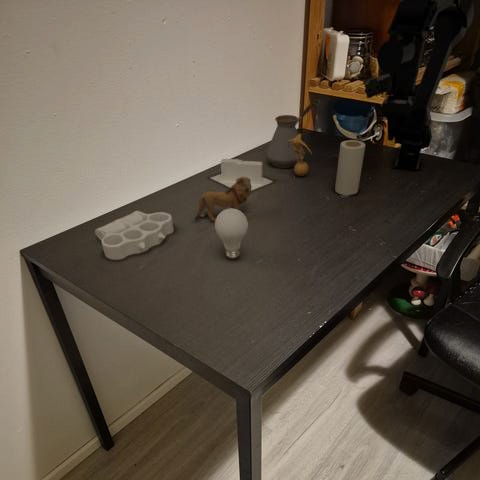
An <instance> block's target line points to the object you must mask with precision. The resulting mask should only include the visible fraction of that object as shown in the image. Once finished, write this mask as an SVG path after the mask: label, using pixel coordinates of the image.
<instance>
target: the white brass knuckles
mask: <svg viewBox="0 0 480 480" xmlns="http://www.w3.org/2000/svg"><path fill="white" fill-rule="evenodd" d="M174 230H175V228H174V222H173V216H172V214H170V213H168V212H164V211H161V212H160V211H159V212H158V211H157V212H153V213H145V212H143V211H140V210H135V211H133V212H132V213H129V214H127V215H125V216H123V217H120V218H117V219H116V220H113V221H111V222H109V223H107V224H106V225H103V226H101V227H97V228H95V230H94V233H95V236H96V237H97V238H98V240H100V243H101V245H102V249H103V253H104V256H105V257H106V258H107V259H109V260H113V261H121V260H125V258H127V257H130V256H132V255H138V254H143V253H146V252H148V250H149V249H151V248H153V247H155V246H159V245H160V244H161V243H162V242H164V240H165V239H166V238H167V236H169V235H171V234H173V233H174V232H175V231H174Z"/></svg>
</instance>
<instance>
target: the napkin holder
mask: <svg viewBox="0 0 480 480" xmlns="http://www.w3.org/2000/svg"><path fill="white" fill-rule="evenodd" d="M263 164H264V163H263V161H252V160H242V159H238V158H237V159H236V158H222V160H221V161H220V168H221V170H220V171H221V173H219V174H216V175H214V176H211V177H210V180H214V181H215V182H218V183H219V184H222V185H224V186H226V187H228V188H229V189H230V188H231V187H232V185H234V184H235V183H236V179H238V178H240V177H243V176H244V177H247V178H248V179H250V183H251V186H252V187H251V191H250V192H252V191H254V190H257V189H260V188H263V187H264V186H266V185H267V186H268V185H269V184H272V183H274V181H273V180H271V179H269V178H266V177H263Z"/></svg>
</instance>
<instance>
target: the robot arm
mask: <svg viewBox="0 0 480 480" xmlns="http://www.w3.org/2000/svg"><path fill="white" fill-rule="evenodd" d="M474 6H475V5H474V0H400V1H399V3H398V5H397V8H396V10H395V12H394V16H393V17H392V20H391V22H390V25H389V27H388V30H387V34H388V35H389V36H388V40H386V41H384V42H383V43H382V44H381V46H380V47H379V49H378V51H377V54H376V61H377V64H378V67H379V68H380V69H381V70H382V71H384V72H387V73H386V74H383V75H379V76H375V77H374V78H369V80H366V82H365V83H364V93H365V95H366V99H371V98H373V97H375V96H378V95H381V94H384V93H385V96H386V97H385V98H384V99H383V101H382V104H381V109H380V113H381V115H382V116H384V117H385V119H386V121H387V122H386V123H387V140H388V141H391V142H393V140H394V144H397V145H400V148H399V151H398V156H397V158H396V159H395V163H394V167H393V168H394V169H400V170H410V171H418V170H419V166H420V156H421V153H422V150H424V149H429V148H430V145H431V142H432V139H433V136H432V135H433V134H432V128H431V124H432V120H433V119H432V115H431V107H432V105H433V101H434V99H435V96H436V93H437V91H438V89H439V85H440V83H441V80H442V78H443V74H444V72H445V69H446V66H447V64H448V61H449V59H450V57H451V53H452V51H453V49H454V47H456V46H457V45H458V43H459V42H461V41H462V40H463V39H464V37H465V35H466V33H467V30H468V29H469V28H470V27H471V25H472V24H473V19H474V16H475V7H474ZM431 29H432V34H433V40H434V44H433V46H432V49H431V52H430V55H429V58H428V61H427V63H426V65H425V69H424V72H423V74H422V77H421V79H420V82H419V85H416V83H417V79H418V75H419V71H420V65H421V62H422V56H423V52H424V49H425V42H426V38H428V36H429V32H430V31H431ZM388 72H389V73H388ZM417 86H418V88H417Z"/></svg>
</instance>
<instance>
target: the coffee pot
mask: <svg viewBox="0 0 480 480" xmlns="http://www.w3.org/2000/svg"><path fill="white" fill-rule="evenodd" d="M317 101H318V103H319V104H317ZM320 103H321V101H320V100H319V99H318V98H315V99H313V100H312V101H311V102H310V104H309V105H308V106H306V108H305V109H304V110H303V111H302V113H301V114H300V115H299V116H298V117H297V116H295V115H292V114H282V115H278V116H276V117H275V119H274V120H275V122H276V125H277V126H276V129H275V131H274V132H273V136H272V138H271V141H270V142H269V145H268V147H267V150H266V152H265V157H266V158H267V160H268V162H269V163H271V165H272V166H274V167H276V168H279V169H290V168H294V167H295V165H296V164H297V163H298V161H297V158H296V156H297V155H298V154H297V153H296V152H295V150H294V148H295V146H294V144H293V142H289V146H290V147H288V148H289V149H287V144H288V140H291V139H293V138H295V137H297V135H298V134H299V133H298V129H297V127H296V125H297V124H298V123H299V122H300V121H301V119H303V118H304V117H305V116H306V115H307V114H308V113H309V112H310V111H311V109H312V108H313V107H314V106H315V105H316V106H320ZM301 149H303V151H304V146H303V145H302V144H301ZM304 152H305V151H304ZM302 156H303V155H302V154H301V153H299V157H298V159H299V161H301V157H302Z"/></svg>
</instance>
